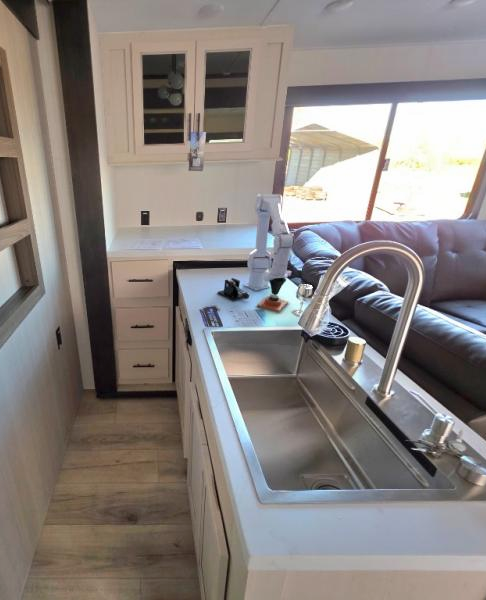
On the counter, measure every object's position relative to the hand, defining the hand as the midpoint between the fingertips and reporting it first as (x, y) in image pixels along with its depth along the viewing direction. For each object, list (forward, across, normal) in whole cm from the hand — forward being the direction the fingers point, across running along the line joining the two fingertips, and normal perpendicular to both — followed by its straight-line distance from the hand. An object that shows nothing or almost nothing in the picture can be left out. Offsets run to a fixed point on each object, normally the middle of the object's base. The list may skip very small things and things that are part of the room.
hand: (274, 294), depth 134 cm
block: (+5, 0, 0) cm, 5 cm away
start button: (+3, 0, 0) cm, 3 cm away
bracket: (+5, -8, +17) cm, 20 cm away
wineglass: (+6, +3, -11) cm, 13 cm away
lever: (+2, -8, +13) cm, 16 cm away
